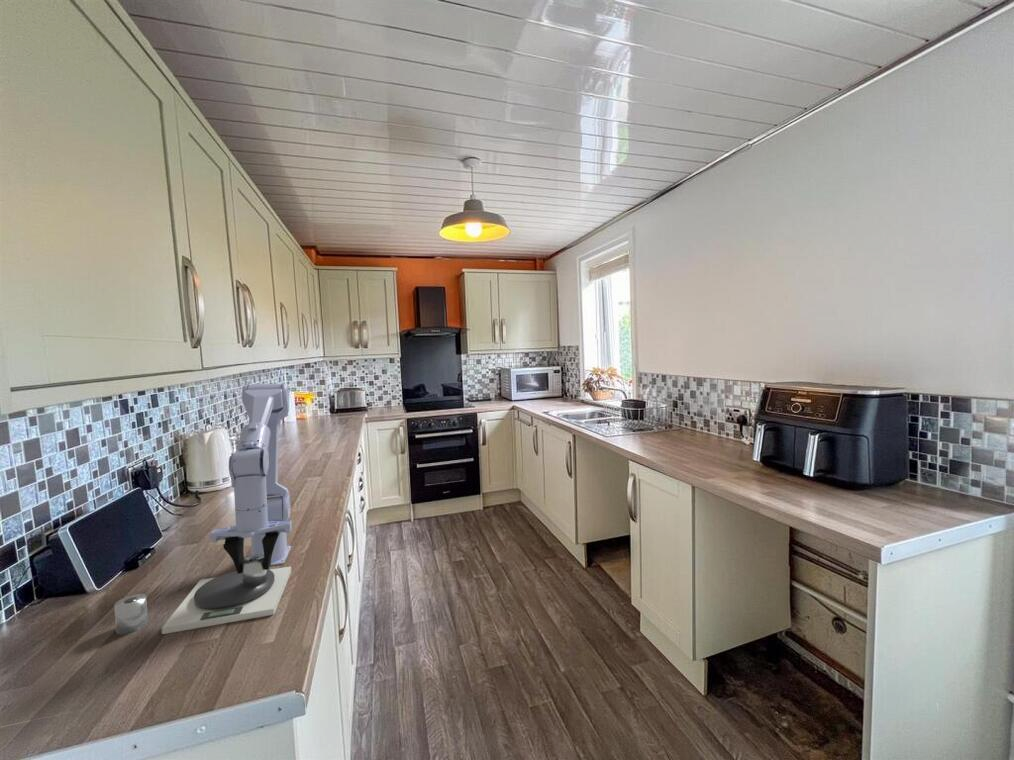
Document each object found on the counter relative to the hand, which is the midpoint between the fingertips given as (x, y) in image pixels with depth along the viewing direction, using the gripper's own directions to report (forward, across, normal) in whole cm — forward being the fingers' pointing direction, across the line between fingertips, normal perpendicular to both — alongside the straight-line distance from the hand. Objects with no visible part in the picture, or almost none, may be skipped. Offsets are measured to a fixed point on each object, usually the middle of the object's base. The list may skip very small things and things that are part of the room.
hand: (254, 569), depth 87 cm
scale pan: (+4, -4, 0) cm, 5 cm away
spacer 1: (+5, -19, -5) cm, 20 cm away
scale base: (+5, -4, -1) cm, 6 cm away
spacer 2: (+3, 0, 0) cm, 3 cm away
